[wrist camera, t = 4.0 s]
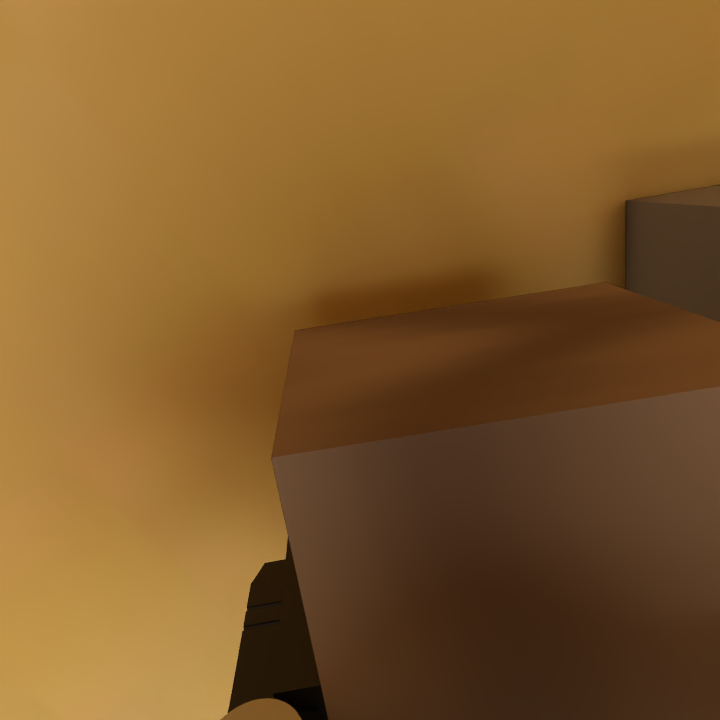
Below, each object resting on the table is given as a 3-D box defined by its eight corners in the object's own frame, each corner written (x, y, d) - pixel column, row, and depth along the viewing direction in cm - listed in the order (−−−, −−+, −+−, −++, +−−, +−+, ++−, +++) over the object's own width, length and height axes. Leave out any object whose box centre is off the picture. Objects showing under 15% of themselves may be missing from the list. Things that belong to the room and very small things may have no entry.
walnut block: (605, 282, 10) (846, 365, 6) (603, 644, 13) (762, 904, 8) (295, 330, 10) (271, 457, 5) (361, 685, 13) (383, 971, 8)
